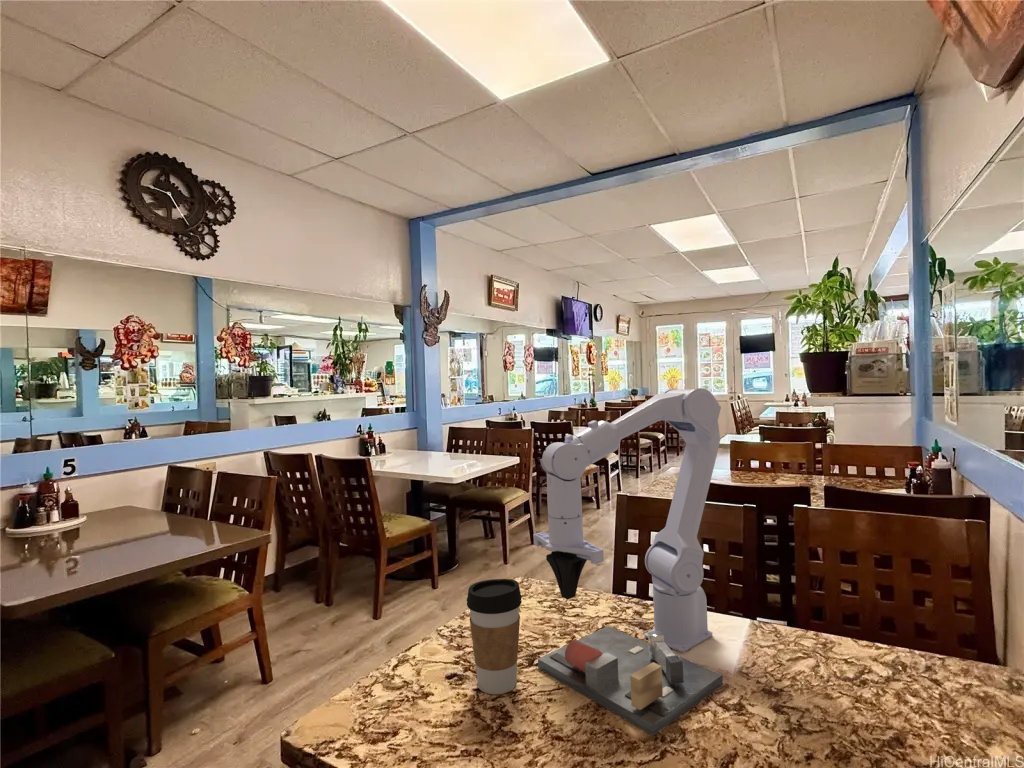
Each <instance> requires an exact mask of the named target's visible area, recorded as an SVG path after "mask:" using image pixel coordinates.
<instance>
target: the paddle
mask: <svg viewBox="0 0 1024 768" xmlns="http://www.w3.org/2000/svg"><path fill="white" fill-rule="evenodd" d="M630 679H631V706H633V707H635V708H637V709H639V710H641V709H643V708H644V707H646V706H647V705H649V704H650V703H652V702H653V701H655V700H656V699H658V698H659V697H661V696H663V689H662V666H660V665H658V664H656V663H654V662H653V663H651V664H649V665H648V666H646V667H644V668H642V669H641V670H639V671H637V672H635V673H634V674H632V675H630Z"/></svg>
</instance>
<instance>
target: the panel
mask: <svg viewBox="0 0 1024 768" xmlns="http://www.w3.org/2000/svg"><path fill="white" fill-rule="evenodd" d="M577 640H578V641H580V642H582V643H584V644H586V645H589V646H591V647H593V648H595V649H597V650H599V651H601V652H602V655H600V656H598V657H596V658H594V659H592V660H590V661H588V662H586V663H585V672H586V673H585V672H583V671H581V670H579V669H577V668H576V667H574V666H572V665H570V664H568V663H567V662H566V660H565V651H566V648H567V646H568V644H567V645H564V646H562V647H560V648H558V649H555V650H554V651H551V652H549V653H547V654H545V655H543V656H541V657H539V658H537V668H538V669H539V670H540V671H542V672H544V673H545V674H547V675H549V676H550V677H552V678H554V679H555V680H558V681H559V682H560V683H562V684H565V685H566V686H567V687H569V688H571V689H573V690H574V691H576V692H578V693H579V694H581V695H583V696H585V697H586V698H587V699H590V700H591V701H593V702H595V703H596V704H598V705H600V706H602V707H603V708H605V709H607V710H608V711H610V712H612V713H613V714H615V715H617V716H619V717H620V718H622V719H624V720H626V721H627V722H628V723H630V724H632V725H634V726H635V727H637V728H639V729H640V730H642V731H644V732H645V733H647V734H648V735H650V736H655V735H656V734H658V733H659V732H661V731H662V730H663V729H664V728H666V727H667V726H669V725H670V724H672V723H673V722H675V720H677V719H678V718H680V717H681V716H682V715H684V714H685V713H687V711H689V710H691V709H692V708H693V707H695V706H696V705H698V704H699V703H701V702H702V701H703V700H704V699H706V698H707V697H708V696H710V695H711V694H713V693H715V691H717V690H719V688H721V687H722V686H724V681H723V680H724V677H723V674H722V673H720V672H717V671H715V670H712V669H709V668H708V667H705V666H702V665H700V664H698V663H696V662H694V661H691V660H689V659H686V658H684V657H682V656H679V655H678V657H679V658H680V659H681V660H682V661H683V682H684V683H676V684H671V683H670V681H669V680H668V679H667V677H666V673H665V672H664V671H663V669H662V689H663V696H661V697H659V698H658V699H656V700H655V701H653V702H652V703H650V704H649V705H647V706H646V707H644V708H643V709H641V710H639V709H637V708H635V707H633V706H631V679H630V675H632V674H634V673H635V672H637V671H639V670H641V669H642V668H644V667H646V666H648V665H649V664H651V663H653V662H654V663H656V664H658V663H657V661H655V660H652V659H650V658H649V643H648V641H644V640H642V639H640V638H638V637H635V636H633V635H630V634H628V633H625V632H624V631H621V630H620V629H616V628H614V627H612V626H609V625H607V626H604V627H603V628H601V629H599V630H596V631H594V632H592V633H590V634H588V635H586V636H584V637H582V638H579V639H577ZM658 665H659V664H658Z"/></svg>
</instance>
